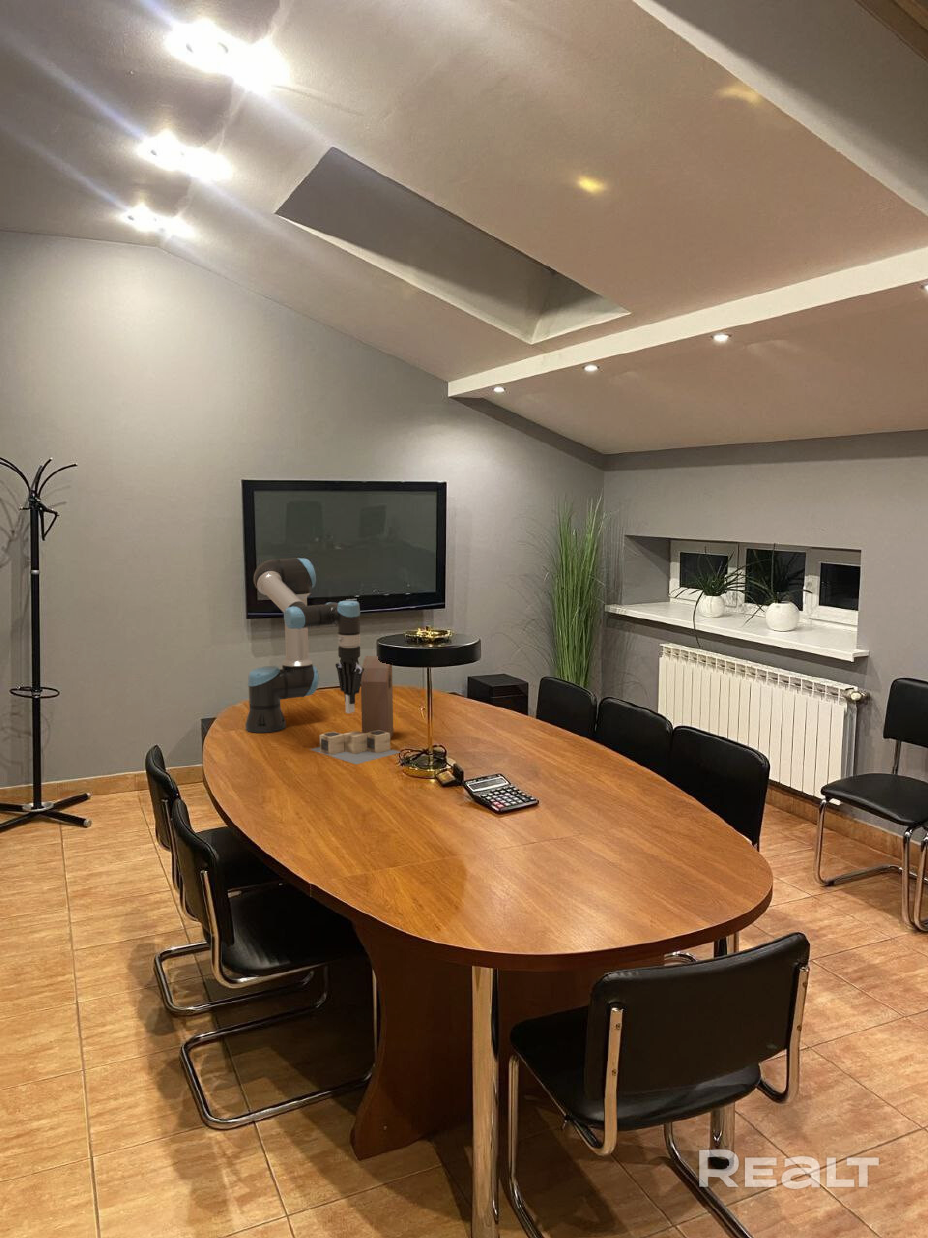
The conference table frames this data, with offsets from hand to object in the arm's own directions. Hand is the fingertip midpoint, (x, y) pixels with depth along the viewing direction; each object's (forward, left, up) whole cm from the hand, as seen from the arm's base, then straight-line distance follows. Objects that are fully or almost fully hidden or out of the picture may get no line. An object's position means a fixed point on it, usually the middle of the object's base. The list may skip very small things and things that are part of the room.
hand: (350, 712), depth 324 cm
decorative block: (-6, +17, -14) cm, 23 cm away
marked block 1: (-3, -6, -13) cm, 15 cm away
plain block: (+2, 0, -13) cm, 13 cm away
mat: (+2, 0, -14) cm, 14 cm away
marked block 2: (+7, +6, -13) cm, 16 cm away
